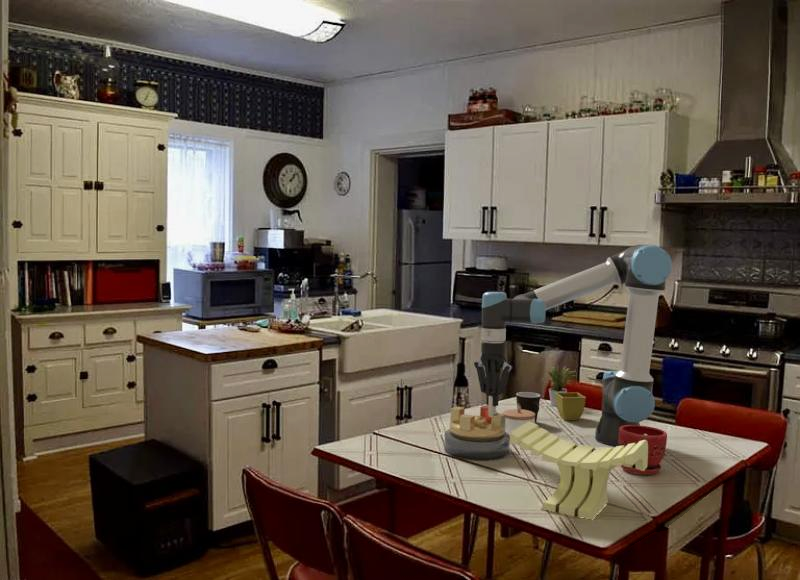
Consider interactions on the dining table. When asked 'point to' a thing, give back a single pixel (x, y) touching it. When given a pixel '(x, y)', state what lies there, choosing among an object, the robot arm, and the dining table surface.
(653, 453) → the plant pot
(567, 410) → the flower pot
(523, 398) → the coffee mug
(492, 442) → the base
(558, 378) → the house plant
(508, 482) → the dining table surface
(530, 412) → the lidded jar
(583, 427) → the dining table surface
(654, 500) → the dining table surface
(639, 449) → the slatted curved stool
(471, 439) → the ring nut
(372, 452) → the dining table surface
